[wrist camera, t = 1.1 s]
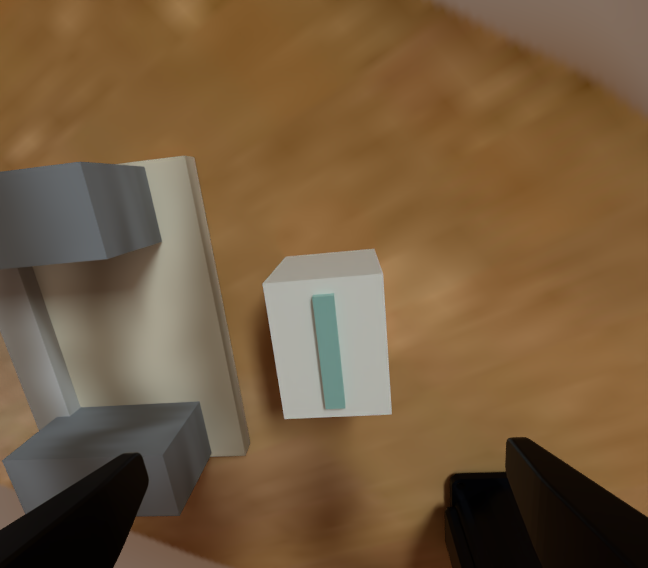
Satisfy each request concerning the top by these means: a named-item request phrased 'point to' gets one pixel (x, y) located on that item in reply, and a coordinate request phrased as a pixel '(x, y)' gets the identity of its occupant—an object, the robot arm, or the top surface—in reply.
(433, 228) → the top surface
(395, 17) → the top surface
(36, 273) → the rail board
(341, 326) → the module block
